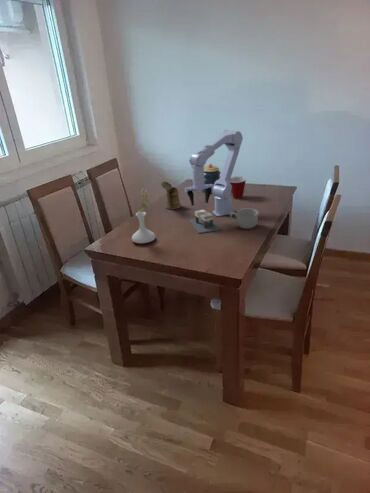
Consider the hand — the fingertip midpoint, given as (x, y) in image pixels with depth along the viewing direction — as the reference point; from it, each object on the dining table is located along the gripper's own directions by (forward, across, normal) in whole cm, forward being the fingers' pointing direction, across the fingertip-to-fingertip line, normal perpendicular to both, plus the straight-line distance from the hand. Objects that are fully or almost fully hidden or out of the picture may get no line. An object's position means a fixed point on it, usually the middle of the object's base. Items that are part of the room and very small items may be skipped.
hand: (199, 203), depth 189 cm
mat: (+10, 0, +6) cm, 12 cm away
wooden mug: (+10, +9, -26) cm, 29 cm away
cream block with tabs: (+9, 0, +6) cm, 11 cm away
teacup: (+10, -18, +16) cm, 26 cm away
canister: (+10, -23, -48) cm, 55 cm away
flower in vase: (+10, +32, +12) cm, 35 cm away
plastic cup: (+10, -33, -27) cm, 44 cm away
